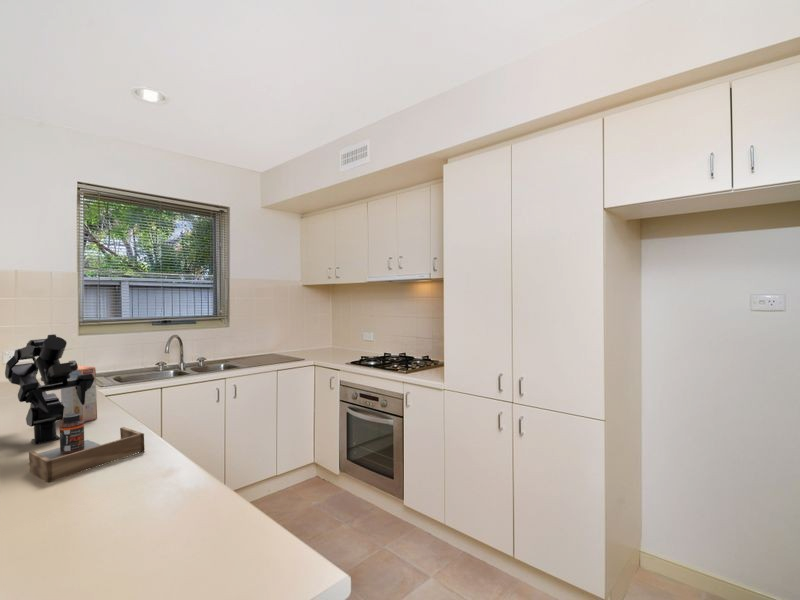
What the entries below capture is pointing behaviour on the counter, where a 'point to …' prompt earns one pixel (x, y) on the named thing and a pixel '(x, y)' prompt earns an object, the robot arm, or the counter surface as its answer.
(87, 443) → the mat
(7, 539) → the counter surface
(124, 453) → the open wooden enclosure
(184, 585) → the counter surface
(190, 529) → the counter surface
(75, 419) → the supplement bottle
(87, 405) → the cracker box
